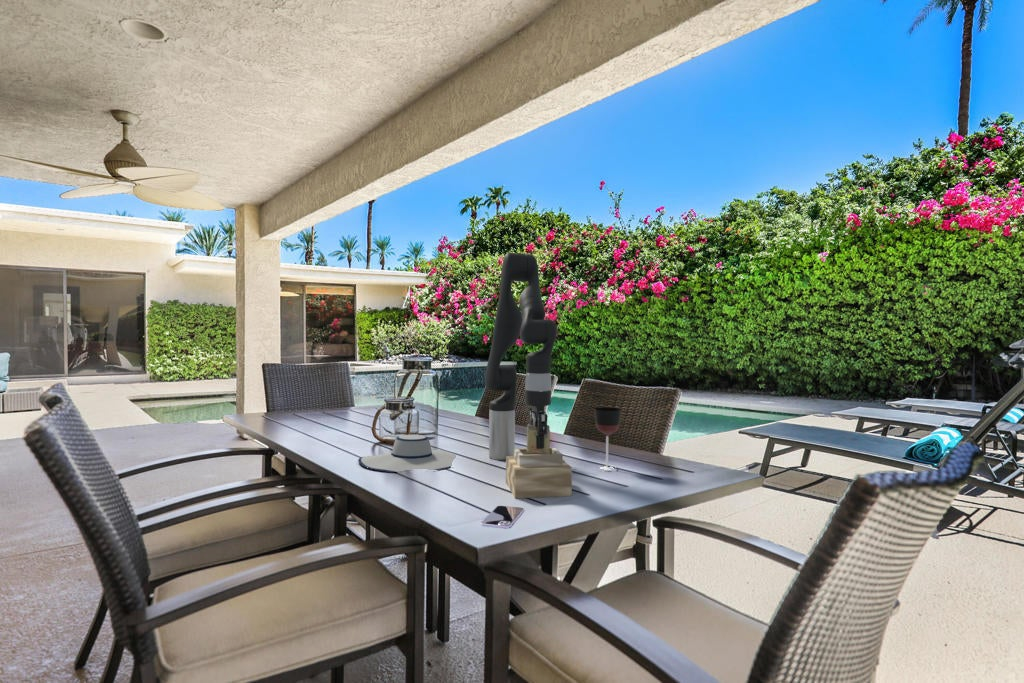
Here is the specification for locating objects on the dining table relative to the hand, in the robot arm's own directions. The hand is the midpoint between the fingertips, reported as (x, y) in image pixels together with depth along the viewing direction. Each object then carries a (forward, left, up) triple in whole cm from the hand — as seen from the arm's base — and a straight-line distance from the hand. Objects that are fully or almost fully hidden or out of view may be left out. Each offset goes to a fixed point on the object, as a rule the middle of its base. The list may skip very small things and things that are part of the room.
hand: (537, 446), depth 170 cm
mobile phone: (+23, -14, -13) cm, 30 cm away
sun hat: (-42, -36, -13) cm, 57 cm away
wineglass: (-20, +28, -13) cm, 37 cm away
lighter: (0, 0, -2) cm, 2 cm away
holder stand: (0, 0, -13) cm, 13 cm away
